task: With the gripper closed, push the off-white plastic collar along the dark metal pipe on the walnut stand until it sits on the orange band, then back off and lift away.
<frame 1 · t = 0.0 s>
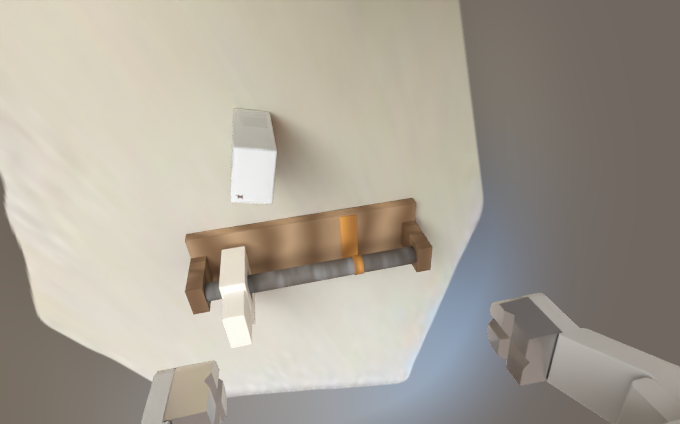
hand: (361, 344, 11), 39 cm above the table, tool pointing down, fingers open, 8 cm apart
pipe stand: (307, 243, 58), on the table
skincare box: (251, 132, 47), on the table
collar: (238, 297, 49), point 9 cm above the table, slide at 0.0 cm
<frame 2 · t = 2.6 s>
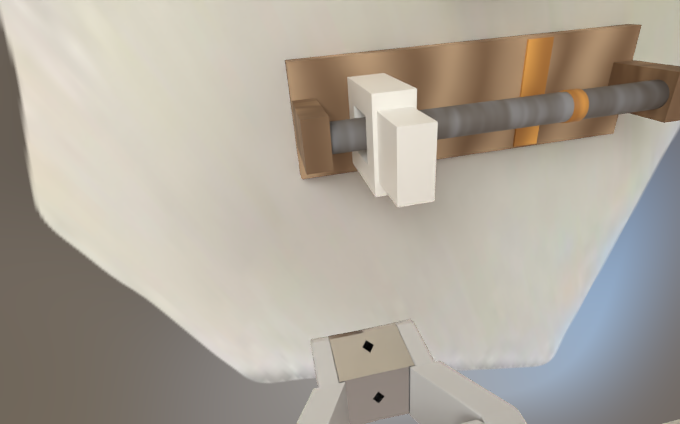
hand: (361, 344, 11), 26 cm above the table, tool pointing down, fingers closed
pipe stand: (463, 99, 37), on the table
collar: (387, 139, 28), point 9 cm above the table, slide at 0.0 cm
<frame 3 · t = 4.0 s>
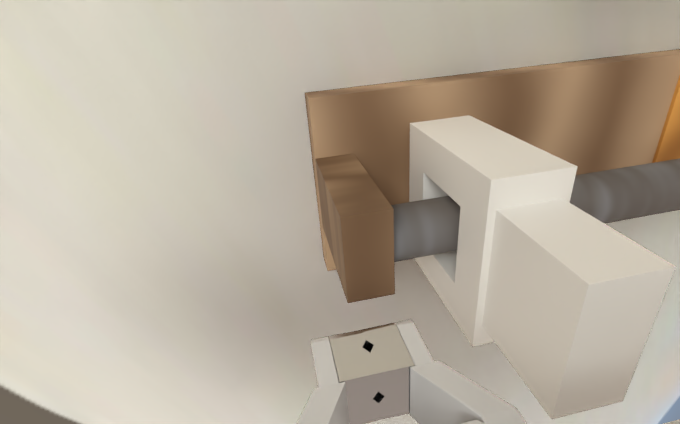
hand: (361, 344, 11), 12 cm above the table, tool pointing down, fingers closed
pipe stand: (569, 145, 24), on the table
collar: (495, 243, 15), point 9 cm above the table, slide at 0.0 cm
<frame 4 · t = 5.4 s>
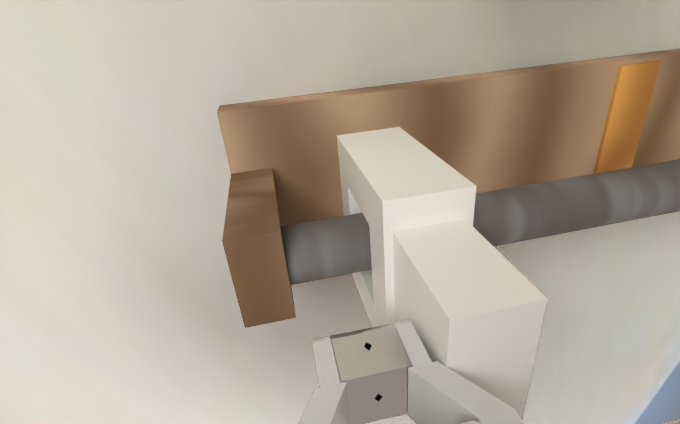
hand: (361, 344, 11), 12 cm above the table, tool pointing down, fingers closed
pipe stand: (508, 155, 24), on the table
collar: (411, 262, 15), point 9 cm above the table, slide at 0.7 cm, touching gripper
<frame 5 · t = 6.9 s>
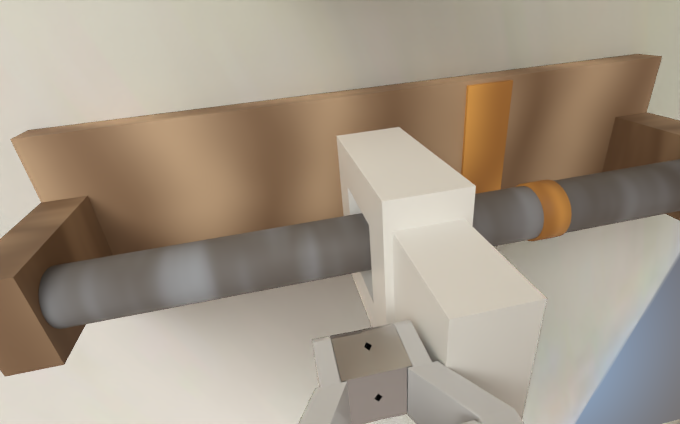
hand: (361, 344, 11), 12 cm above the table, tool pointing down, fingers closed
pipe stand: (370, 177, 22), on the table
collar: (410, 262, 15), point 8 cm above the table, slide at 9.3 cm, touching gripper
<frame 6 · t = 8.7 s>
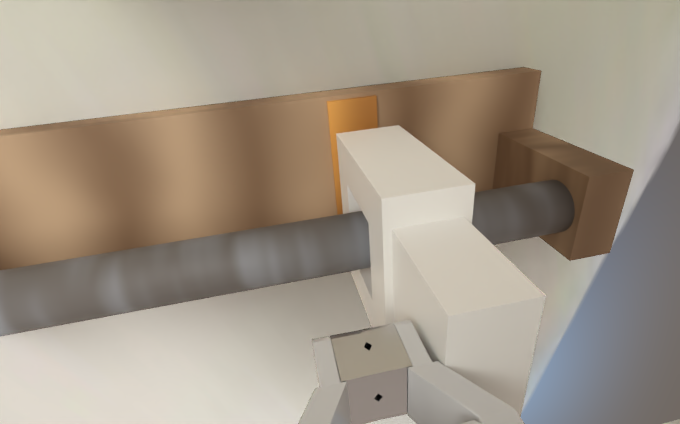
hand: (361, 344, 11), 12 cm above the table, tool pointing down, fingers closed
pipe stand: (244, 195, 21), on the table
collar: (410, 260, 15), point 9 cm above the table, slide at 16.4 cm, touching gripper
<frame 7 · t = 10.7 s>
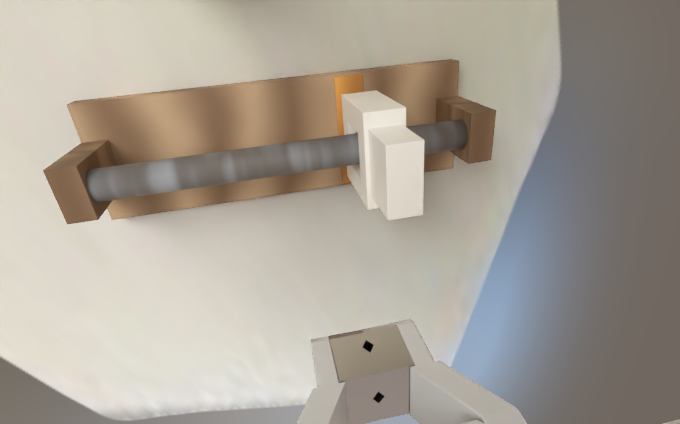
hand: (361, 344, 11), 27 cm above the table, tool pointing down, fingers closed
pipe stand: (283, 136, 36), on the table
collar: (379, 154, 29), point 8 cm above the table, slide at 16.5 cm
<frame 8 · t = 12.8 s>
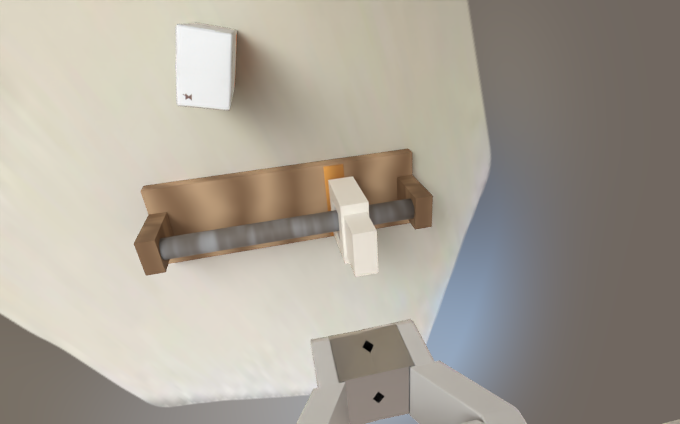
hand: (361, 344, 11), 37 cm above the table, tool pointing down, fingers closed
pipe stand: (287, 203, 50), on the table
skincare box: (216, 55, 41), on the table
collar: (352, 226, 43), point 9 cm above the table, slide at 16.5 cm
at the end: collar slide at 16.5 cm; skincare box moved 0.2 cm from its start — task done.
